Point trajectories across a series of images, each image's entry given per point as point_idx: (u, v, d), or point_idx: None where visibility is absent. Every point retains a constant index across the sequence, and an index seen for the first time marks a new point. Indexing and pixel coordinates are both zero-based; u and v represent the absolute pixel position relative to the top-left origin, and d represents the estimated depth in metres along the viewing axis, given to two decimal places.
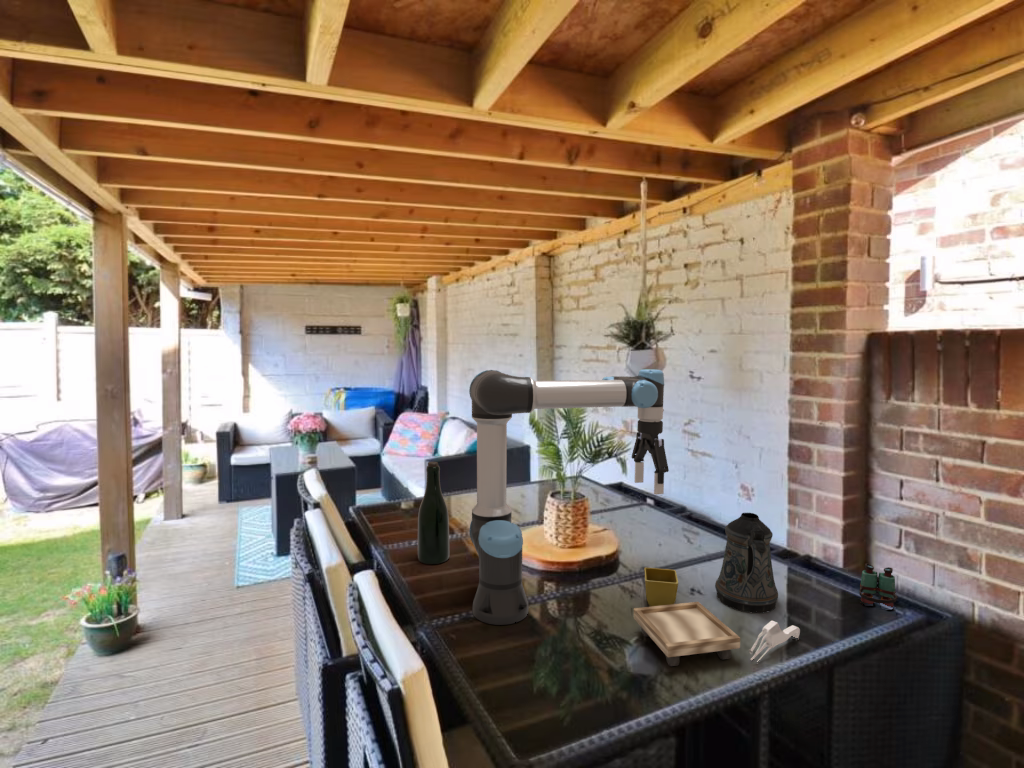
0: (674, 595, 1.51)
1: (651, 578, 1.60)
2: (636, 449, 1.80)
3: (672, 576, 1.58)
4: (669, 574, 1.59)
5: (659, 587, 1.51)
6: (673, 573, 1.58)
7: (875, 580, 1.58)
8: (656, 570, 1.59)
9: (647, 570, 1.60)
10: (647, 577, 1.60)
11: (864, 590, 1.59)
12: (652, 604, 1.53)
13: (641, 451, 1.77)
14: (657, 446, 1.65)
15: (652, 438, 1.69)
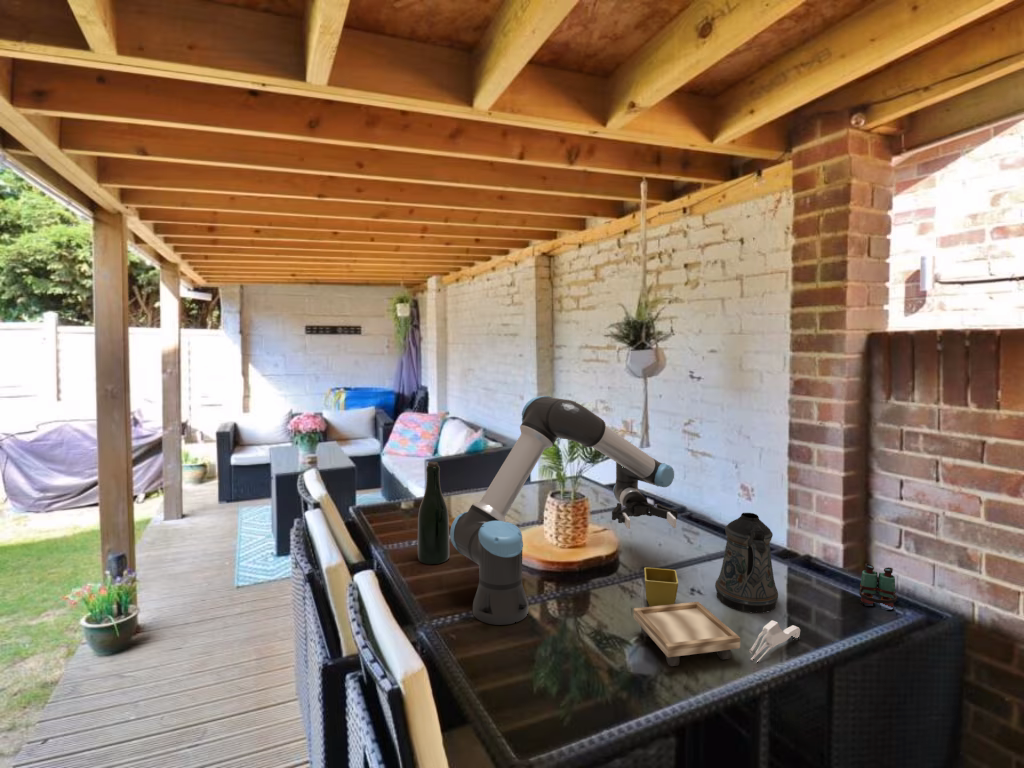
0: (674, 595, 1.51)
1: (651, 578, 1.60)
2: (618, 510, 1.74)
3: (672, 576, 1.58)
4: (669, 574, 1.59)
5: (659, 587, 1.51)
6: (673, 573, 1.58)
7: (875, 580, 1.58)
8: (656, 570, 1.59)
9: (647, 570, 1.60)
10: (647, 577, 1.60)
11: (864, 590, 1.59)
12: (652, 604, 1.53)
13: (629, 510, 1.74)
14: None
15: None
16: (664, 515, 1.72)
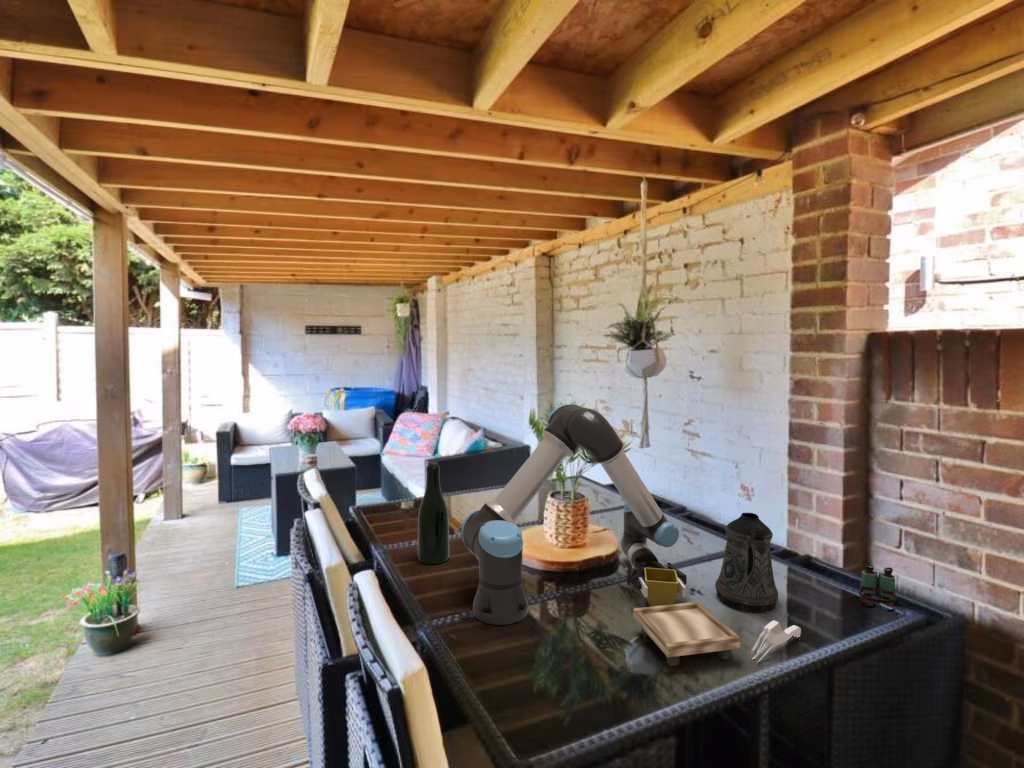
0: (674, 595, 1.51)
1: (651, 578, 1.60)
2: (631, 572, 1.62)
3: (672, 576, 1.58)
4: (669, 574, 1.59)
5: (659, 587, 1.51)
6: (673, 573, 1.58)
7: (875, 580, 1.58)
8: (656, 570, 1.59)
9: (647, 570, 1.60)
10: (647, 577, 1.60)
11: (864, 590, 1.59)
12: (652, 604, 1.53)
13: (642, 572, 1.62)
14: None
15: (660, 563, 1.68)
16: None
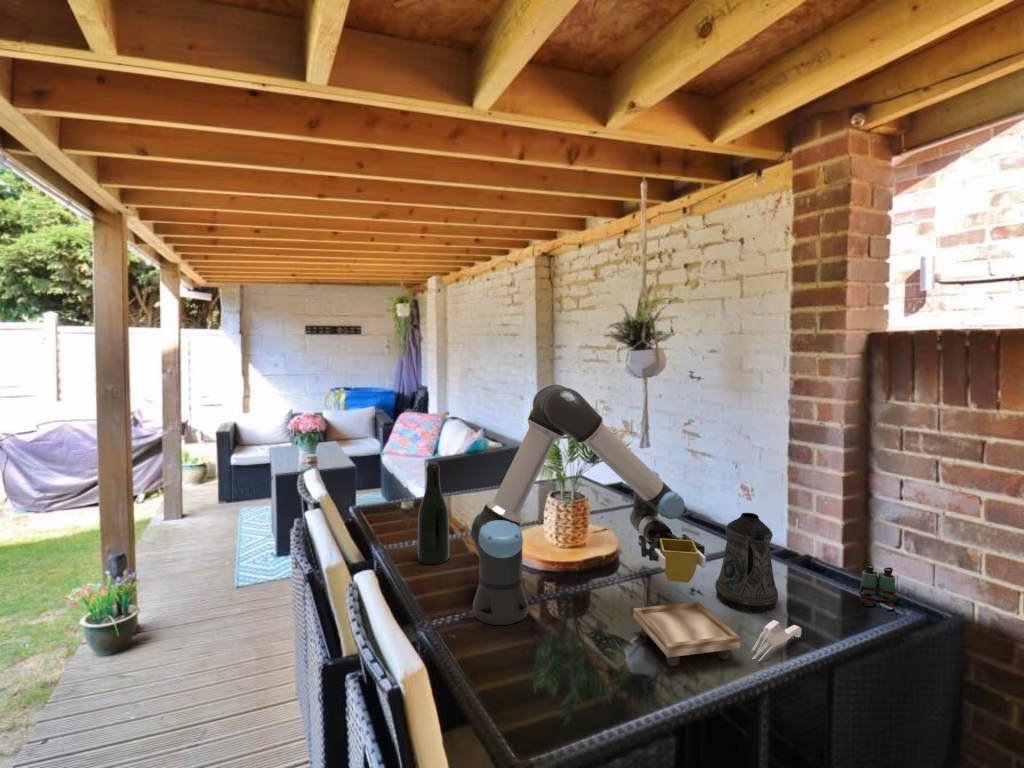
0: (694, 566, 1.41)
1: (667, 550, 1.50)
2: (645, 544, 1.52)
3: (689, 547, 1.49)
4: (686, 544, 1.49)
5: (678, 558, 1.42)
6: (690, 544, 1.49)
7: (875, 580, 1.58)
8: (672, 541, 1.50)
9: (663, 541, 1.50)
10: None
11: (864, 590, 1.59)
12: (670, 576, 1.43)
13: (657, 544, 1.52)
14: None
15: (674, 535, 1.59)
16: None
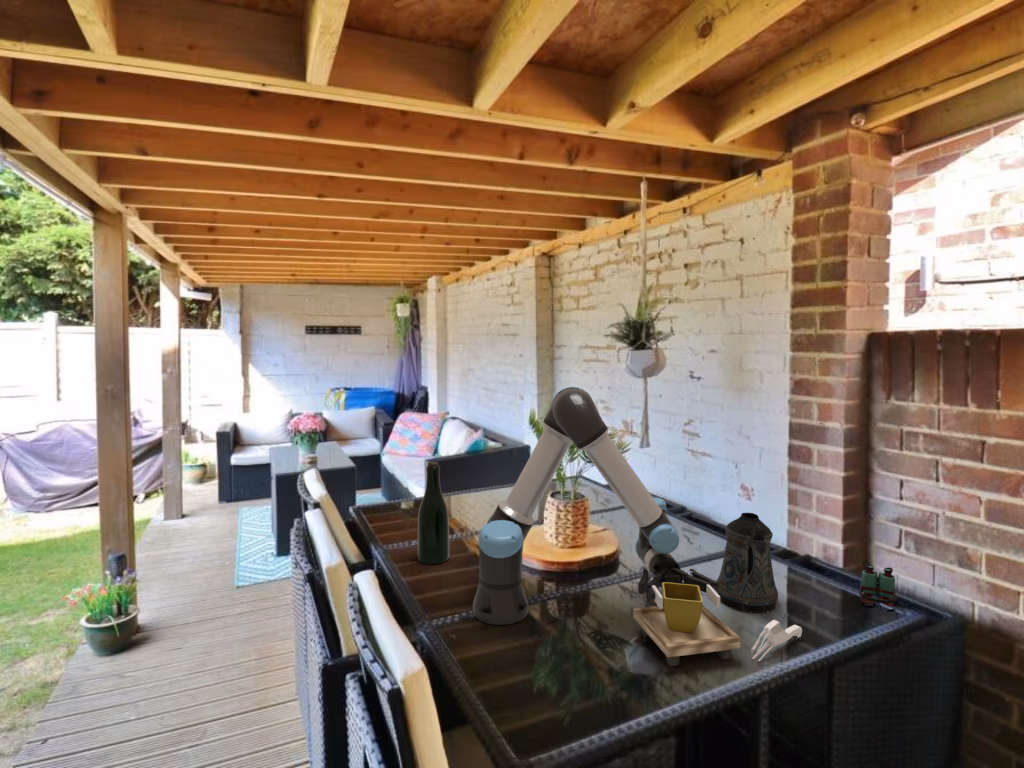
0: (698, 615, 1.30)
1: (670, 595, 1.38)
2: (645, 580, 1.42)
3: (695, 592, 1.37)
4: (691, 590, 1.37)
5: (680, 606, 1.30)
6: (696, 589, 1.37)
7: (875, 580, 1.58)
8: (676, 585, 1.38)
9: (665, 585, 1.39)
10: (665, 593, 1.39)
11: (864, 590, 1.59)
12: (672, 625, 1.32)
13: (659, 580, 1.42)
14: None
15: (681, 570, 1.48)
16: (702, 588, 1.40)
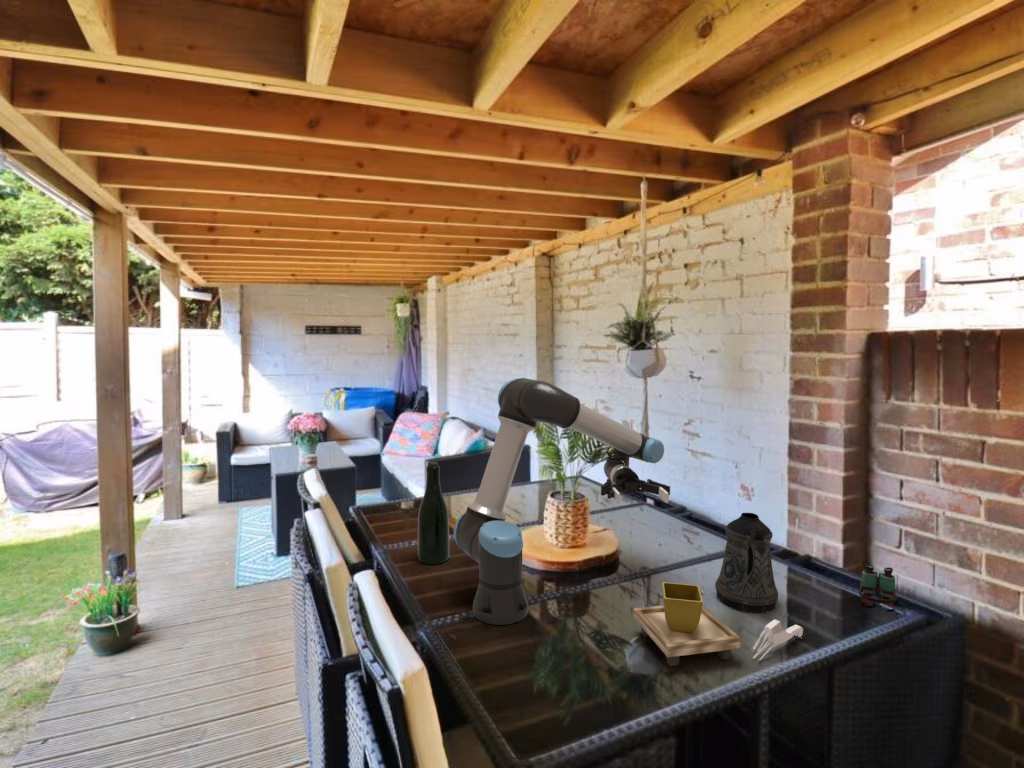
0: (698, 615, 1.30)
1: (670, 595, 1.39)
2: (608, 485, 1.65)
3: (695, 592, 1.37)
4: (691, 590, 1.37)
5: (680, 606, 1.30)
6: (696, 589, 1.37)
7: (875, 580, 1.58)
8: (676, 585, 1.38)
9: (665, 585, 1.39)
10: (665, 593, 1.39)
11: (864, 590, 1.59)
12: (672, 625, 1.32)
13: (619, 485, 1.66)
14: None
15: None
16: (656, 491, 1.64)
